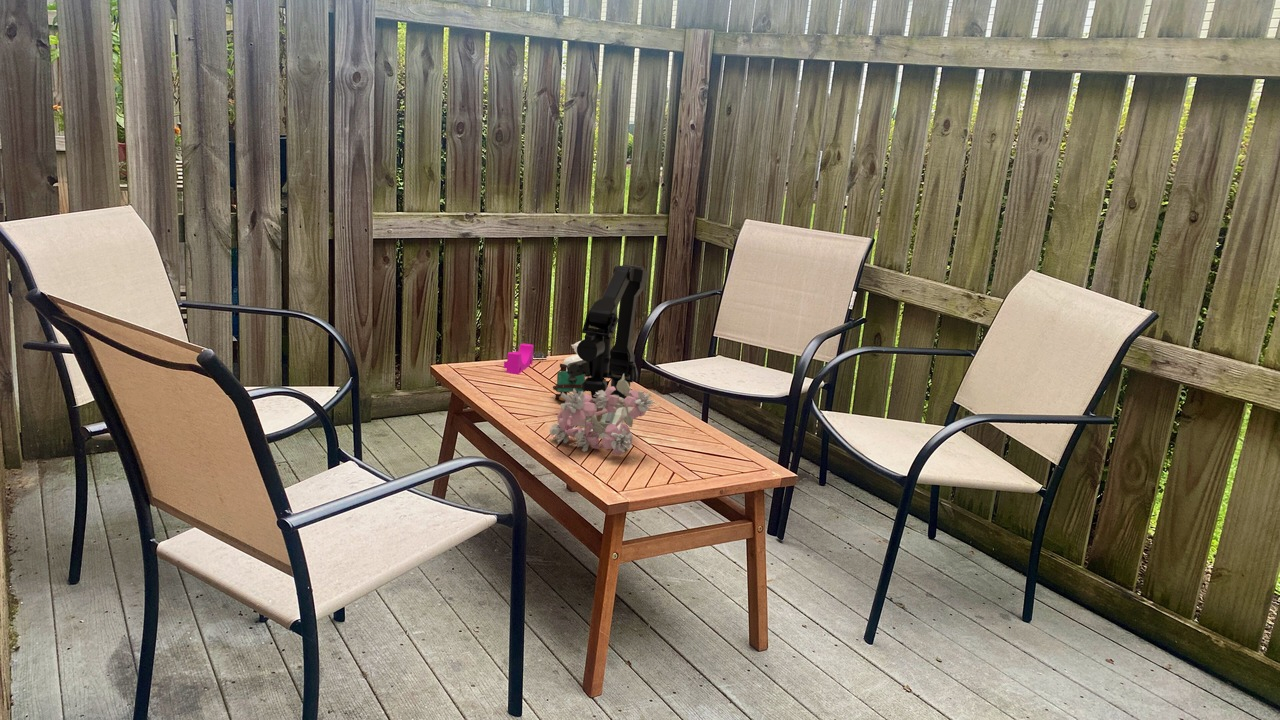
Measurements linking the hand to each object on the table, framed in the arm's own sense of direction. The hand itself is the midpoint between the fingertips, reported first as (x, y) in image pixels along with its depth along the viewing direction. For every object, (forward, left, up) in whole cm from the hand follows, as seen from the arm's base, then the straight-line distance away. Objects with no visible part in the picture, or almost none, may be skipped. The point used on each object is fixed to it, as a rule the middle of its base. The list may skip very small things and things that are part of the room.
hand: (595, 407), depth 267 cm
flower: (+16, +15, +8) cm, 24 cm away
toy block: (-40, -30, -3) cm, 50 cm away
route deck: (+5, 0, -3) cm, 6 cm away
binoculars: (-17, -11, +1) cm, 20 cm away
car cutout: (-54, -22, -4) cm, 59 cm away
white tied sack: (-42, -9, -3) cm, 43 cm away
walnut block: (+7, 0, -1) cm, 7 cm away
